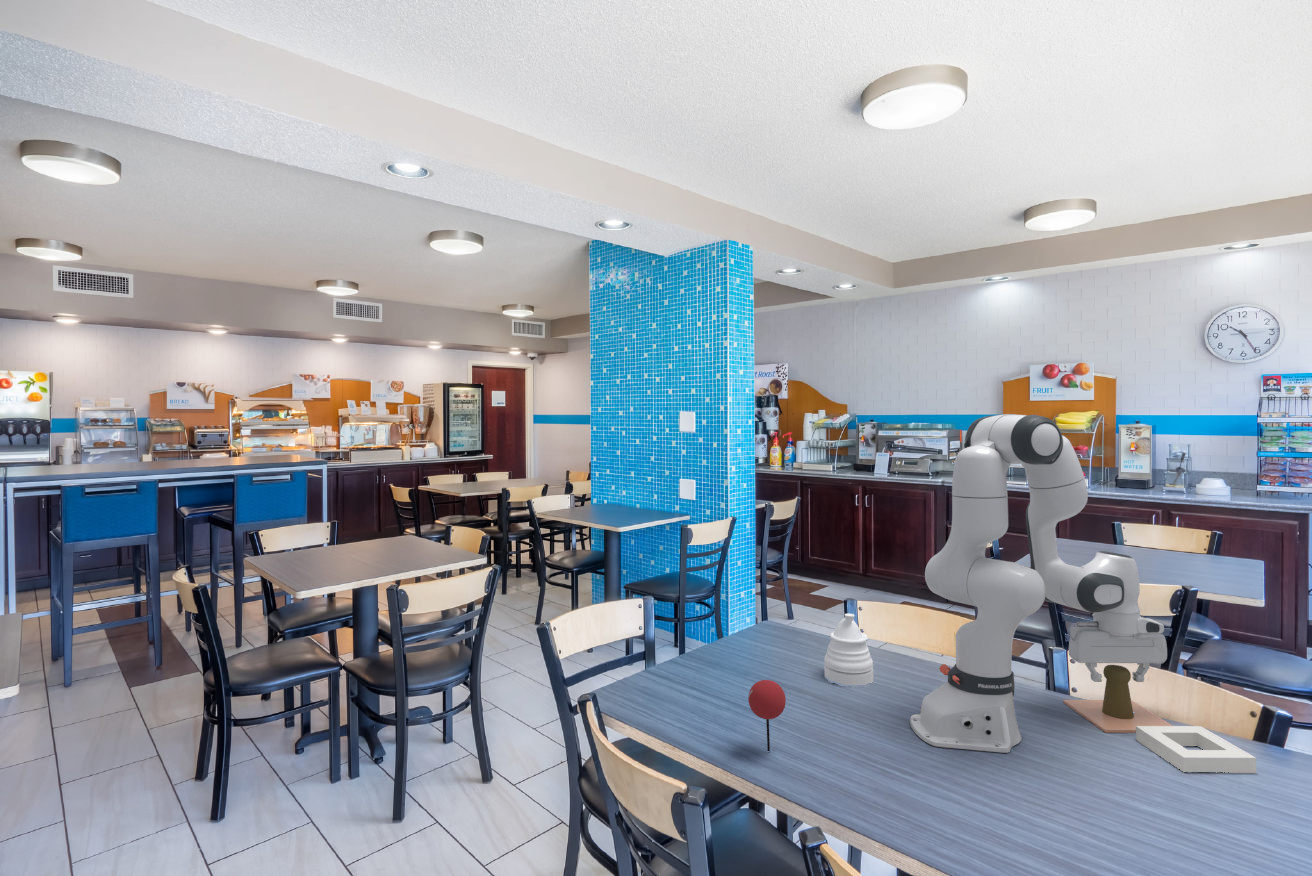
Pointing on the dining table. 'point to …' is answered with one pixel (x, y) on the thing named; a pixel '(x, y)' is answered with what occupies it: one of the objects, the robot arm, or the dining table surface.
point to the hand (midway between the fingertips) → (1117, 681)
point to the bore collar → (1211, 759)
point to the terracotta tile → (1110, 724)
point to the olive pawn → (1117, 692)
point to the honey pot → (848, 655)
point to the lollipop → (767, 701)
